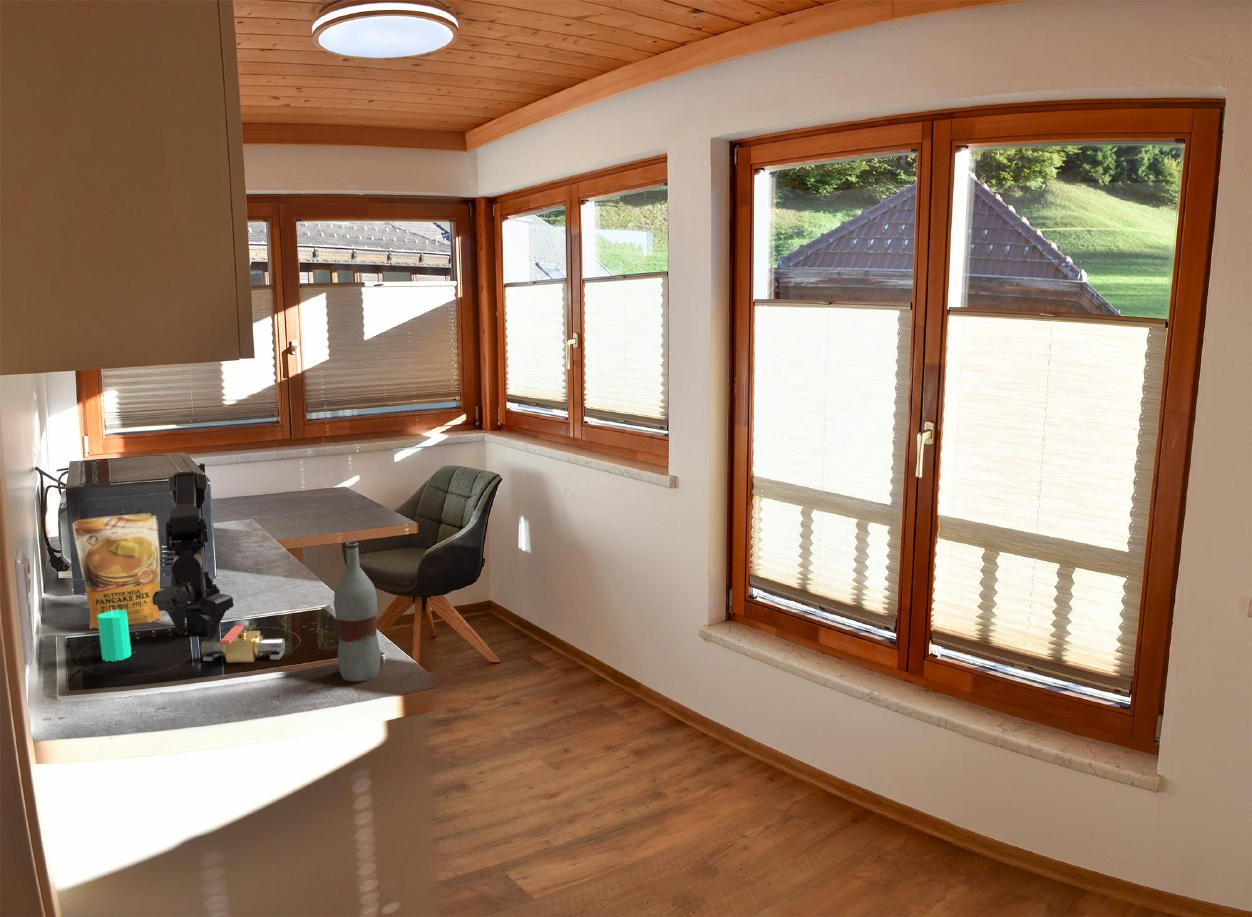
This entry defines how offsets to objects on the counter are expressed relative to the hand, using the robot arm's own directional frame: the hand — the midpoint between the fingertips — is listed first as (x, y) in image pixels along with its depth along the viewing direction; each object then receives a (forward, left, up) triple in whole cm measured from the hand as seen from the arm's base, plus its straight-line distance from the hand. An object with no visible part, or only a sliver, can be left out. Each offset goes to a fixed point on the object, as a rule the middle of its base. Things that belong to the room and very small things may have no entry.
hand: (196, 636), depth 214 cm
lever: (+9, 0, 0) cm, 9 cm away
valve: (+9, +4, -7) cm, 12 cm away
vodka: (+38, -8, -7) cm, 39 cm away
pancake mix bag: (-29, +30, -7) cm, 43 cm away
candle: (-21, +7, -7) cm, 24 cm away
